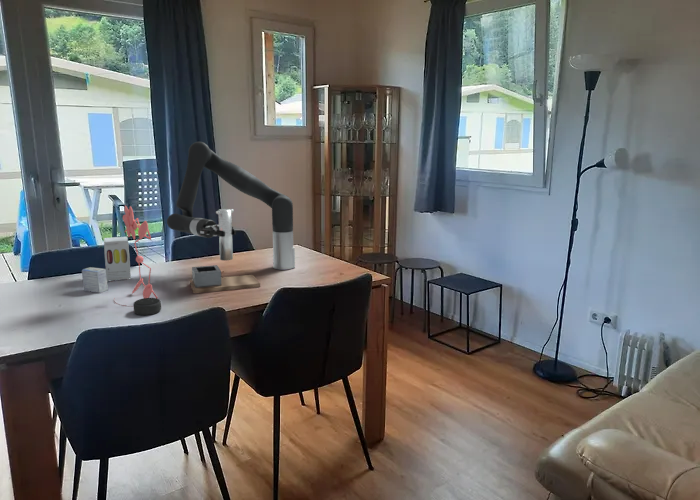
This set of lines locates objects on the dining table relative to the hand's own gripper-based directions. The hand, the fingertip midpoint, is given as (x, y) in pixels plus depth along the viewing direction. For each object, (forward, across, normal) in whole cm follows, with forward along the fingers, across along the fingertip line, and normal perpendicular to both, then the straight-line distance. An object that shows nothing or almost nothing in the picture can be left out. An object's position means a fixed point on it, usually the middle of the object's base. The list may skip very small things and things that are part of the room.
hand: (229, 233), depth 209 cm
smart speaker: (+2, -38, +22) cm, 45 cm away
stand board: (-3, -1, +22) cm, 22 cm away
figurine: (-15, -34, +22) cm, 43 cm away
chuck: (-6, -7, +20) cm, 23 cm away
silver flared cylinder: (-3, 0, +11) cm, 11 cm away
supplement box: (-46, -22, +23) cm, 56 cm away
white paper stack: (-35, -38, +23) cm, 56 cm away
